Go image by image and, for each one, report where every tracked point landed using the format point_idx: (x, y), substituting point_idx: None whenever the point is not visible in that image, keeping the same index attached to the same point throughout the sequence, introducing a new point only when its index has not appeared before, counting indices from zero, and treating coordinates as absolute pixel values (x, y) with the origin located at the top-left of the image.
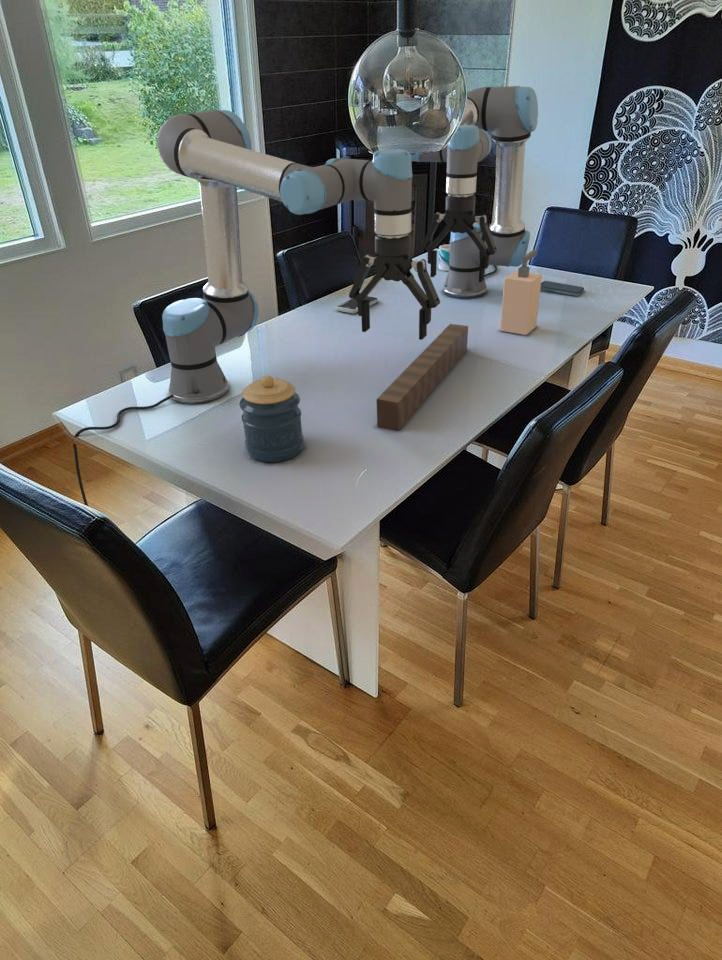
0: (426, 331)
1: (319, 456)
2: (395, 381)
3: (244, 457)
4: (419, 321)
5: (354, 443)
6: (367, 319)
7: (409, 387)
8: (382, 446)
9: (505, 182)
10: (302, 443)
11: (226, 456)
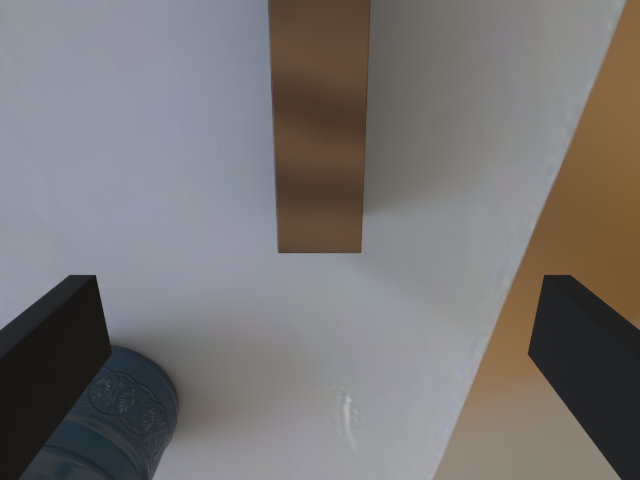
0: (588, 293)
1: (225, 388)
2: (278, 84)
3: None
4: (613, 465)
5: (271, 315)
6: (56, 364)
7: (355, 120)
8: (343, 304)
9: None
10: (170, 398)
11: None
